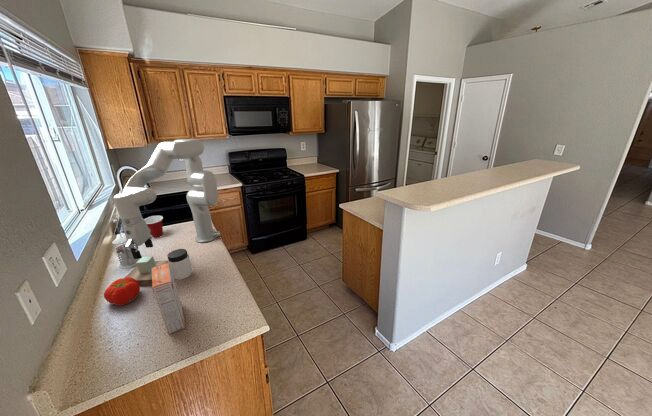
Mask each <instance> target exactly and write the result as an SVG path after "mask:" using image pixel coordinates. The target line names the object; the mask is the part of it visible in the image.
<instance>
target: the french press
mask: <svg viewBox="0 0 652 416" xmlns="http://www.w3.org/2000/svg"><path fill="white" fill-rule="evenodd" d="M112 222H113V223H115V224H116V225H115V226H116V227H117V230H118V233H119V236H118V237H117V238H115V239H114V240H112V242H111V243H112V245H116V246H117V245H119V246H117V247H116V249H115V250H116V251H115V253H116V255H117V257H118V261H119V265H118V268H120V269H128V268H132V267H134V266H135V267H136V266H137V264H136V262H137V261H138V260H140V259H134V258H133V255H132V252H130V251H128V250H127V249H126V248H125V247H126V244H127V239H126V236H125V235H122V234H121V232H120V228H119V227H118V224H117V223H118V222H119V221H118V219H113V220H112ZM133 248H134V249H135V246H133Z"/></svg>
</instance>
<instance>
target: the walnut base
mask: <svg viewBox="0 0 652 416" xmlns="http://www.w3.org/2000/svg"><path fill="white" fill-rule="evenodd" d="M154 261H155V260H154ZM168 261H169V260H168V259H167V260H156V261H155V264H156V266H160V265H163V264H167V263H168ZM126 277H131V278H134V279H135V280H137V281H138V283H139V287H144V286H152V272H151V273H141V274H140V273H139V270H138V267H137V265H135V267H134V268H133V269H132V270H131V271H129V272H128V273H127V274H126V275H125V276H124V277H123V278H124V279H125V278H126Z"/></svg>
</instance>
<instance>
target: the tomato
mask: <svg viewBox="0 0 652 416" xmlns="http://www.w3.org/2000/svg"><path fill="white" fill-rule="evenodd" d="M125 277H126V276H125ZM140 292H141V286H139V283H138V281H137V280H135V279H134V278H131V277H126V278H125V279H124V277H123V278H122V277H121V278H117V279H116V280H114V281H113V282H111V284H110V285H108V287H107V288H106V289H105V291H104V293H103V298H104V299H105V301H106V302H107V303H109V304H110V305H116V306H124V305H127V304H129V303H130V302H131V301H133V300H135V298H137V296H139V293H140Z"/></svg>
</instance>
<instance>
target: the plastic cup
mask: <svg viewBox="0 0 652 416" xmlns="http://www.w3.org/2000/svg"><path fill="white" fill-rule="evenodd" d="M143 219H144V220H145V222H146V224H147V226H148V228H150V229H151V232H150V233H151V238H153V237H154V239H157V237H158V238H160V236H161V237H162V236H163V235H164V230H163V229H164V228H163V219H164V217H163V215H151V216H148V217H146V218H143Z"/></svg>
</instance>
